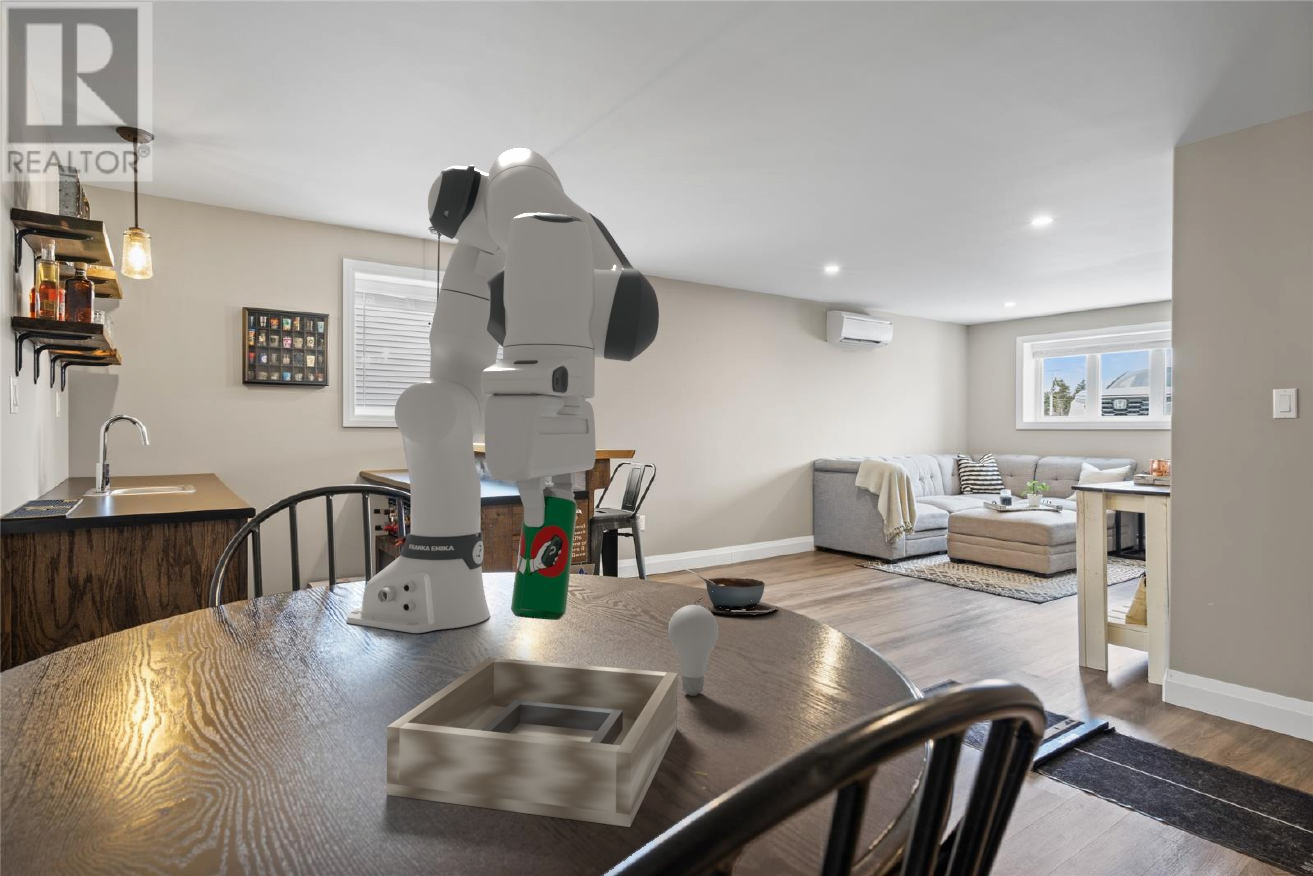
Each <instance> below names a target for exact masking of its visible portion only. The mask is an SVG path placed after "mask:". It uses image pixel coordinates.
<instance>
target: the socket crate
mask: <svg viewBox="0 0 1313 876" xmlns="http://www.w3.org/2000/svg"><path fill="white" fill-rule="evenodd" d="M678 676H679V675H678V672H670V671H668V672H666V671H658V670H657V671H656V670H647V669H646V670H644V669H634V668H633V669H632V668H621V667H608V666H597V665H596V666H595V665H585V664H573V663H571V664H570V663H562V662H561V663H560V662H551V661H536V660H524V659H513V658H512V659H511V658H502V657H487V658H485V659H483V661H481V662H479V663H478V664H476V665H475V666H473V667H472V668H471V669H469V670H467V672H465V673H463V674H462V675H461V676H459V677H458V678H456V679H455V680H454V681H452V682H451V683H449V684H447V685H446V686H445V687H443V688H442V689H440V690H439V691H437V692H436V693H434V694H432V695H431V696H430V697H428V698H426V699H425V700H424V701H422V702H421V703H420V704H418V705H417V706H415V707H414V708H412V709H411V710H409V711H408V712H406V713H405V714H403V715H402V716H400V717H399V718H398V719H396V720H395V721H393V722H392V723H390V724H388V725H387V726H386V730H387V731H386V795H387V796H391V797H392V796H393V797H401V798H409V799H418V800H423V801H431V802H436V803H437V802H439V803H446V804H453V805H462V806H468V807H476V808H483V809H484V808H485V809H490V810H491V809H492V810H497V811H506V812H512V813H513V812H514V813H521V814H529V815H537V816H544V817H551V818H559V819H565V820H566V819H568V820H575V821H582V822H590V823H596V824H604V825H605V824H606V825H612V826H618V827H626V828H627V827H628V828H631V826H632V824H633V822H634V819H635V818H636V815H637V813H638V811H639V810H640V807H641V805H642V803H643V800H644V799H645V796H646V794H647V792H648V790H649V788H650V786H651V784H652V781H653V780H654V778H655V775H656V773H657V771H658V769H659V767H660V765H661V763H662V761H663V758H664V757H665V755H666V752H667V750H668V748H669V746H670V744H671V742H672V741H673V738H674V736H675V734H676V732H677V729H678V678H679V677H678Z"/></svg>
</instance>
